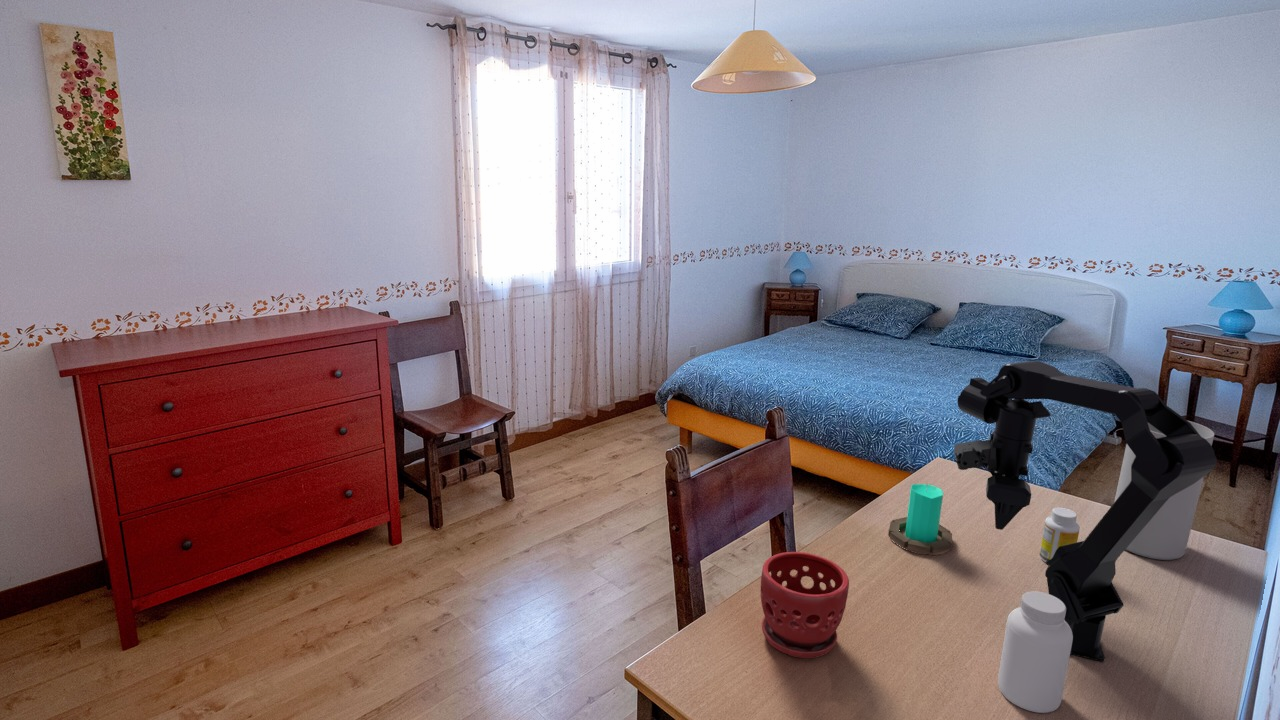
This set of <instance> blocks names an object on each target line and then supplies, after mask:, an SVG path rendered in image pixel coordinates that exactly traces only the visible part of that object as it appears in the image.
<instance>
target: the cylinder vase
mask: <svg viewBox="0 0 1280 720" xmlns="http://www.w3.org/2000/svg"><path fill="white" fill-rule="evenodd" d="M1186 420H1187V419H1186ZM1187 421H1189V422H1190V423H1191V425H1192V426H1193V427H1194V428H1195V430H1196V431H1197V432H1198V433H1199V435H1200V436H1201V437H1203V438H1204V439H1206V440H1207V441H1208V442H1209V443H1210V444H1211V446H1212V445H1213V442H1214V438H1215V432H1214V431H1213V430H1212V429H1210V428H1209V427H1207V426H1205V425H1202V424H1201V423H1197V422H1194V421H1190V420H1187ZM1148 426H1149V430H1150V431H1151V432H1152V434H1153V435H1154V436H1155V438H1161V437H1167V436H1166V435H1164V434H1163V433H1162V432H1160V431H1159V430H1158V429H1156V428H1155V427H1153V426H1152V425H1151V424H1149V423H1148ZM1212 447H1213V446H1212ZM1134 458H1135V454H1134V453H1133V452H1132V450H1131V449H1130V447H1129V446H1128V445H1127V443H1126V444H1125V449H1124V455H1123V459H1122V464H1121V469H1120V473H1119V474H1120V475H1119V479H1118V482H1117V488H1116V493H1115V497H1114V501H1113V503H1114V502H1115V501H1116V500H1117V499H1118V497H1119V496H1120V495H1121V493H1122V492H1123V491H1124V490H1125V488H1126V487H1127V486H1128V485H1129V483H1130V481H1131V465H1132V463H1133V461H1134ZM1204 477H1205V476H1204ZM1204 477H1202V478H1201V479H1200V480H1198V481H1197V482H1196V483H1194V484H1193V485H1191V486H1189V487H1187V488H1185V489H1184V490H1182V491H1180V492H1178V493H1176V494H1175V495H1173V496H1171V497H1170V498H1169V499H1168V500H1167V501H1166V502H1165V503H1164V505H1163V506H1162V507H1161V508H1160V509H1159V511H1158V512H1157V513H1156V514H1155V515H1154V516H1153V518H1152V519H1151V520H1150V521H1149V522H1148V523H1147V525H1146V526H1145V527H1144V528H1143V529H1142V530H1141V532H1140V533H1139V534H1138V535H1137V536H1136V537H1135V539H1134V540H1133V541H1132V542H1131V543H1130V544H1129V546H1128V547H1127V548H1126V549H1125V550H1126V551H1127V552H1130V553H1132V554H1135V555H1138V556H1140V557H1141V556H1142V557H1143V558H1147V559H1151V560H1152V559H1153V560H1161V561H1171V560H1177V559H1180V558H1182V557H1183V556H1184V555H1185V554H1186V551H1187V546H1188V543H1189V538H1190V534H1191V529H1192V526H1193V522H1194V518H1195V514H1196V510H1197V506H1198V502H1199V497H1200V494H1201V489H1202V486H1203V481H1204ZM1125 550H1124V551H1125Z"/></svg>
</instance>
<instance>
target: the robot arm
mask: <svg viewBox="0 0 1280 720" xmlns="http://www.w3.org/2000/svg"><path fill="white" fill-rule="evenodd" d="M1029 400H1039V401H1029ZM1041 400H1051V401H1056V402H1060V403H1064V404H1067V405H1068V404H1069V405H1072V406H1076V407H1080V408H1081V407H1082V408H1085V409H1089V410H1094V411H1098V412H1102V413H1107V414H1111V415H1114V416H1116V417H1117V419H1118V420H1119V421H1120V423H1121V427H1122V431H1123V436H1124V440H1125V443H1126V444H1127V445H1128V446H1129V447H1130V449H1131V450H1132V452H1133V453H1134V454H1135V458H1134V461H1133V463H1132V465H1131V481H1130V483H1129V485H1128V486H1127V487H1126V488H1125V490H1124V491H1123V492H1122V493H1121V495H1120V496H1119V497H1118V499H1117V500H1116V501H1115V500H1114V501H1115V502H1114V501H1113V503H1112V505H1111V506H1110V507H1109V509H1108V510H1107V512H1105V514H1104V515H1103V516H1102V517H1101V519H1099V521H1098V522H1097V524H1096V525H1095V526H1094V527H1093V529H1092V530H1091V531H1090V533H1089V534H1088V535H1087V536H1086V537H1085V539H1084V540H1081V541H1077V543H1072V544H1068V545H1064V546H1060V547H1059V548H1058V549H1057V550H1056V552H1055V554H1054V556H1053V558H1052V559H1051V560H1049V561H1046V562H1045V564H1046V565H1048V566H1047V568H1046V569H1045V575H1044V576H1045V578H1046V581H1047V582H1046V583H1047V590H1048V594H1050V595H1052V596H1054V597H1056V598H1058V599H1059V600H1061V601H1062V602H1063V603H1064V605H1065V606H1066V614H1065V619H1064V620H1065V621H1066V622H1067V624H1068V625H1069V626H1070V628H1071V630H1072V635H1073V641H1072V646H1071V652H1070V655H1074V656H1078V657H1082V658H1086V659H1089V660H1094V661H1099V662H1106V656H1105V653H1104V650H1103V647H1102V643H1101V640H1102V635H1103V631H1104V627H1105V622H1106V617H1107V616H1109V615H1112V614H1118V613H1119V612H1120V611H1121V610H1122V608H1123V607H1124V602H1123V600H1122V599H1121V597H1120V595H1119V593H1118V591H1117V589H1116V588H1115V586H1114V584H1113V580H1114V578H1115V576H1116V562H1117V560H1118V559H1119V557H1120V556H1121V555H1122V554H1123V553H1124V551H1125V549H1126V548H1127V547H1128V546H1129V544H1130V543H1131V542H1132V541H1133V540H1134V539H1135V537H1136V536H1137V535H1138V534H1139V533H1140V532H1141V530H1142V529H1143V528H1144V527H1145V526H1146V525H1147V523H1148V522H1149V521H1150V520H1151V519H1152V518H1153V516H1154V515H1155V514H1156V513H1157V512H1158V511H1159V509H1160V508H1161V507H1162V506H1163V505H1164V503H1165V502H1166V501H1167V500H1168V499H1169V498H1170V497H1171V496H1173V495H1175V494H1176V493H1178V492H1180V491H1182V490H1184V489H1185V488H1187V487H1189V486H1191V485H1193V484H1194V483H1196V482H1197V481H1198V480H1200V479H1201V478H1202V477H1206V475H1208V474H1209V473H1211V472H1212V471H1213V470H1214V468H1215V467H1216V465H1217V462H1218V461H1217V460H1218V458H1217V456H1216V453H1215V450H1214V448H1213V446H1211V444H1210V443H1209V442H1208V441H1207V440H1206V439H1204V438H1203V437H1201V436H1200V435H1199V433H1198V432H1197V431H1196V430H1195V428H1194V427H1193V426H1192V425H1191V423H1190V422H1189V421H1190V420H1188V421H1187V419H1186V418H1184V417H1183V416H1182V415H1180V414H1179V413H1178V412H1176V411H1175V410H1173V409H1172V408H1171V407H1170V406H1168V405H1167V404H1166V403H1165V401H1164V400H1163V399H1162V397H1160V395H1159V394H1158V393H1157V392H1156V391H1154V390H1152V389H1149V388H1146V387H1141V388H1140V387H1133V386H1128V385H1127V386H1126V385H1122V384H1116V383H1112V382H1107V381H1101V380H1096V379H1090V378H1085V377H1080V376H1075V375H1074V376H1073V375H1069V374H1066V373H1064V372H1061V371H1060V370H1059V369H1058V368H1057V367H1055V366H1053V365H1050V364H1047V363H1045V362H1042V361H1039V360H1031V361H1023V362H1015V363H1006V364H1004V365H1003V366H1002V367H1001V368H1000V369H999V371H998V373H997V375H996V376H994V378H993V379H992V380H991V381H990V382H989V381H987V380H986V379H985V378H982V377H973V378H972V377H971V378H970V379H969V384H967V385H966V386H965V387H964V388H963V389H962V390H961V392H960V394H959V395H958V397H957V407H958V409H959V410H960V411H961V412H963V413H965V414H967V415H970V416H971V417H973V418H975V419H977V420H980V421H982V422H984V423H986V424H988V425H991V424H995V426H994V431H992V433H990V436H989V439H988V440H987V439H986V440H974V441H973V440H971V441H965V442H958V443H956V444H955V445H954V447H953V448H954V449H953V450H954V451H953V453H954V456H955V460H956V464H957V468H958V470H960V471H965V470H968V469H977V468H981V467H985V468H986V470H987V471H988V473H990V474H991V476H989V477H988V478H987V481H986V488H985V493H986V498H987V500H989V501H991V503H993V504H994V522H995V524H994V526H995V529H996V530H1000V531H1002V530H1004V529H1005V528H1006V527H1007V526H1008V525H1009V523H1010V522H1011V521H1012V520H1013V519H1014V518H1015V517H1016V516H1017V515H1018V514H1019V512H1021V510H1023V509H1024V508H1026V507H1028V506H1030V504H1031V498H1032V491H1031V487H1030V486H1031V485H1030V484H1029V483H1028V482H1027V481H1026V480H1025V479H1021V478H1020V476H1025V477H1027V476H1028V473H1029V467H1028V462H1029V457H1030V454H1033V449H1034V447H1033V443H1032V442H1033V439H1034V431H1035V426H1036V423H1037V419H1044V418H1049V417H1050V416H1051V413H1050V411H1049V410H1048V408H1046V407H1045V406H1044V403H1043V402H1042V401H1041ZM1148 423H1149V424H1151V425H1152V426H1153V427H1155V428H1156V429H1158V430H1159V431H1160V432H1162V433H1163V434H1164V435H1166V436H1167V437H1161V438H1155V436H1154V435H1153V434H1152V432H1151V431H1150V430H1149V426H1148Z"/></svg>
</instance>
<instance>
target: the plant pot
mask: <svg viewBox="0 0 1280 720" xmlns="http://www.w3.org/2000/svg"><path fill="white" fill-rule="evenodd" d="M804 567H807V568H808V569H807V570H805V569H804ZM792 571H797V572H796V574H794V575H791V572H792ZM779 572H780V574H779V575H778V573H779ZM819 573H820V574H822V577H820V576H819ZM770 574H771V575H770ZM803 577H809V578H811V580H812V581H813V584H812V585H813V586H812V587H805V586H804V585H803V583H802V579H803ZM831 581H833V582H834V586H833V585H832V583H831ZM784 582H786V585H784V586H783V583H784ZM821 583H823V584H824V585H825V589H823V588H821ZM849 586H850V580H849V576H848V574H847V573H846V571H845V570H844V569H843V568H842V567H841V566H840V565H839V564H837V563H836V562H834V561H832V560H831V559H828V558H826V557H823V556H820V555H816V554H813V553H810V552H801V551H787V552H780V553H777V554H774V555H773V556H770V557H768V559H766V560H765V561H764V563H763V565H762V570H761V576H760V600H761V601H760V602H761V608H762V612H763V615H764V617H763V619H762V621H761V631H762V633H763V635H764V637H765V640H766V641H767V642H768V643H769V644H770V645H771V646H772V647H773V648H774V649H776V650H777V651H780V652H781V653H783V654H786V655H787V654H788V655H789V656H791V657H796V658H799V659H800V658H802V659H813V658H818V657H821V656H824V655H826V654H828V653H829V652H830V651H831V650H832V649H833V648H835V645H836V643H837V640H838V633H837V630H838V627H839V626H840V625H841V622H842V619H843V616H844V614H845V613H844V612H845V610H846V607H847V600H848V595H849V588H850V587H849Z"/></svg>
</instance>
